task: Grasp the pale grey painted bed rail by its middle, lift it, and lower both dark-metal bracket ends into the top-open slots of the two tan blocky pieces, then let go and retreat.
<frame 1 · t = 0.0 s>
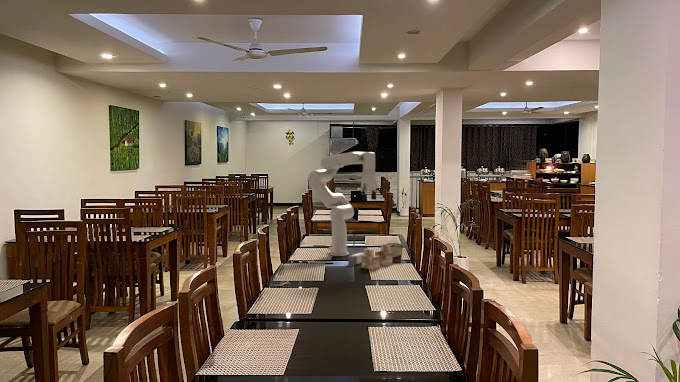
hand: (369, 200, 310), 37 cm above the table, tool pointing down, fingers open, 9 cm apart
food container: (393, 260, 310), on the table
bed rail: (358, 262, 304), on the table
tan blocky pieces: (377, 265, 295), on the table
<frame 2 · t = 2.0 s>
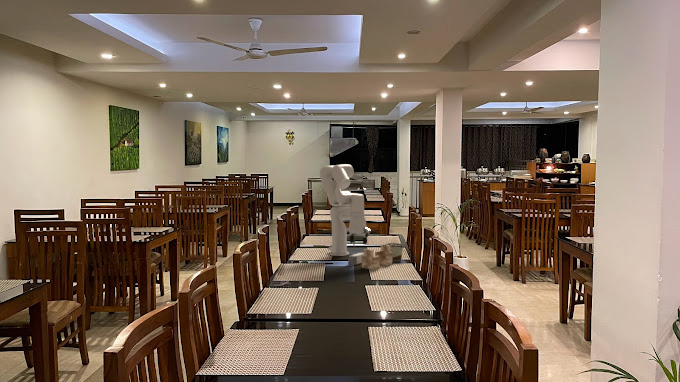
hand: (358, 243, 302), 12 cm above the table, tool pointing down, fingers open, 9 cm apart
nothing on the table moved.
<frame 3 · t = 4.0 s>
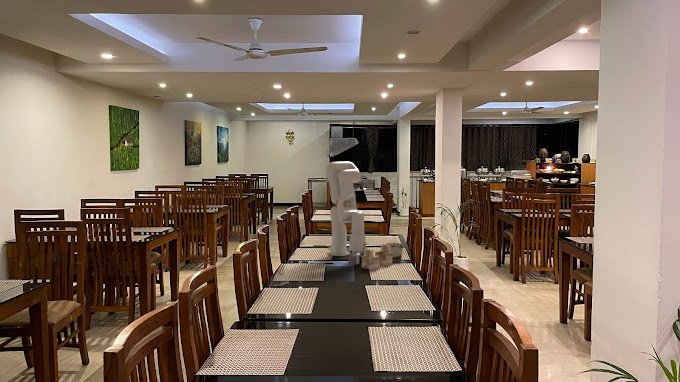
hand: (358, 261, 304), 0 cm above the table, tool pointing down, fingers closed on bed rail, 4 cm apart
bed rail: (358, 262, 304), on the table, touching gripper
everything else where it was.
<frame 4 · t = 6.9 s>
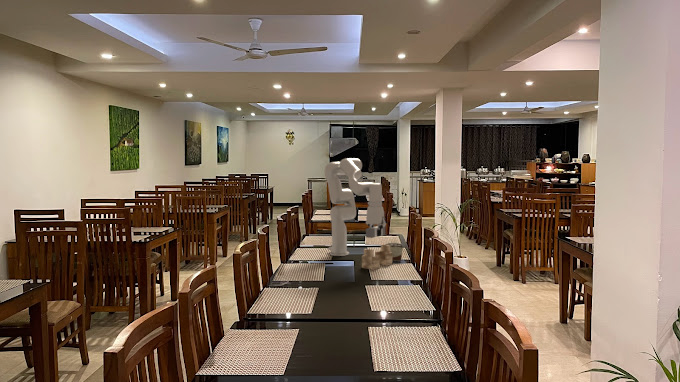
hand: (375, 235, 294), 18 cm above the table, tool pointing down, fingers closed on bed rail, 4 cm apart
bed rail: (375, 235, 294), point 17 cm above the table, touching gripper
everything else where it was.
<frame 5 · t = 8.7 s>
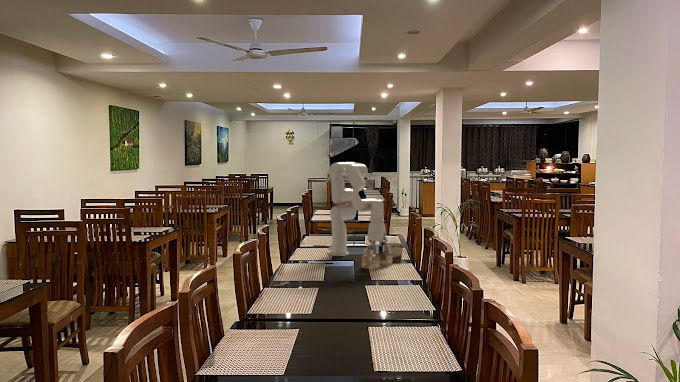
hand: (377, 251, 294), 8 cm above the table, tool pointing down, fingers closed on bed rail, 4 cm apart
bed rail: (377, 252, 294), point 8 cm above the table, touching gripper
everything else where it was.
when the fingers open (5 cm above the table, at t = 10.1 s): bed rail drops 1 cm, resting on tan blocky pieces.
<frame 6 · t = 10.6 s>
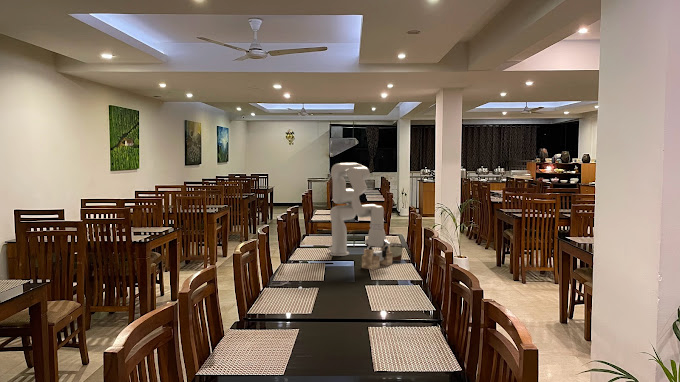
hand: (377, 256, 295), 6 cm above the table, tool pointing down, fingers open, 9 cm apart
bed rail: (377, 260, 295), point 3 cm above the table, touching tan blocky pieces
everything else where it was.
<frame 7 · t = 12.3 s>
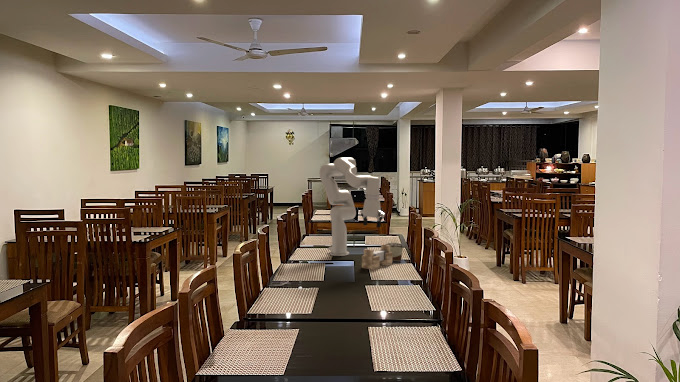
hand: (371, 226, 300), 22 cm above the table, tool pointing down, fingers open, 9 cm apart
nothing on the table moved.
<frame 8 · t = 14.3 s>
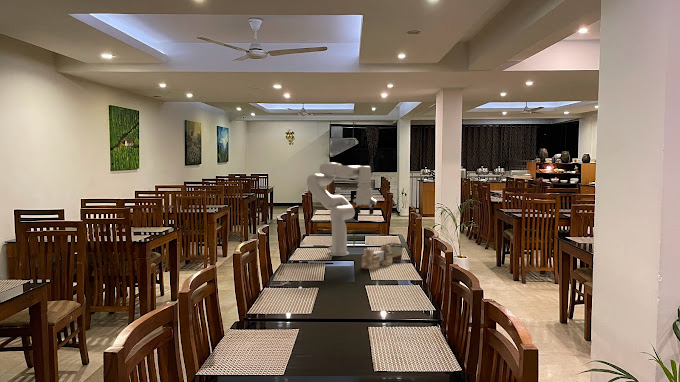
hand: (364, 213, 310), 28 cm above the table, tool pointing down, fingers open, 9 cm apart
nothing on the table moved.
at the end: bed rail 0.1 cm off-centre on the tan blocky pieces, point 3.0 cm above the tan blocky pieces's base; bed rail tilted 0°; the gripper is holding nothing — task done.
